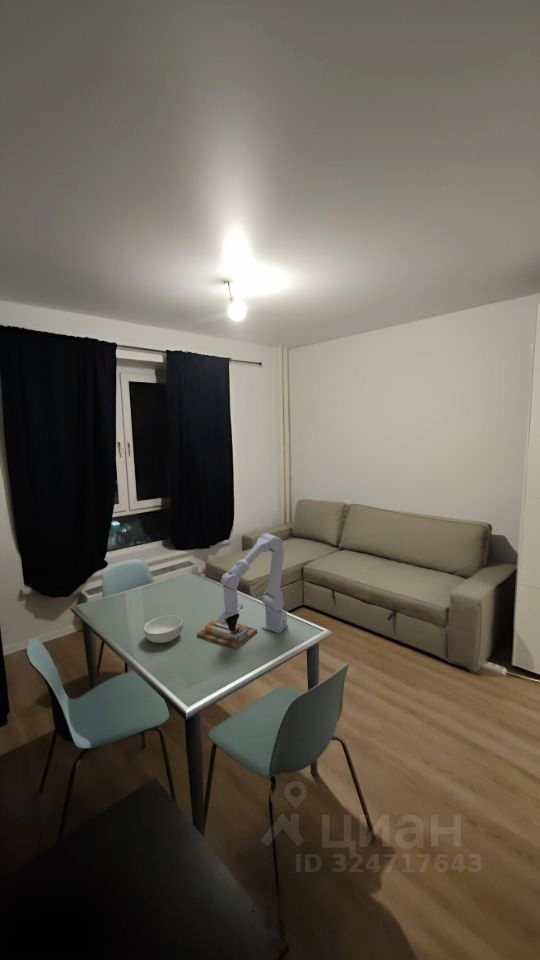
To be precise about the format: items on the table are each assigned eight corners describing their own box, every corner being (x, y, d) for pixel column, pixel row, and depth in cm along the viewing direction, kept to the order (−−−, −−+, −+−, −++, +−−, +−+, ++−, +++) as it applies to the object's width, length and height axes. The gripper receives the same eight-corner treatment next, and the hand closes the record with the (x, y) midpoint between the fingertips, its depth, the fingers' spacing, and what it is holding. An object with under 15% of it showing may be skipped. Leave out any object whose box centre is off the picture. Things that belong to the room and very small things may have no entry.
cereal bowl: (169, 625, 184) (168, 611, 183) (191, 636, 173) (190, 621, 172) (137, 640, 171) (136, 625, 170) (159, 653, 160) (158, 637, 159)
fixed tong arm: (248, 635, 169) (247, 629, 168) (238, 643, 163) (238, 636, 162) (215, 625, 178) (215, 619, 178) (205, 632, 173) (205, 626, 172)
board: (257, 632, 174) (256, 629, 174) (235, 649, 161) (235, 646, 160) (219, 621, 186) (219, 618, 186) (196, 636, 172) (196, 633, 172)
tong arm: (243, 636, 168) (243, 629, 168) (240, 638, 166) (240, 632, 166) (212, 626, 178) (212, 620, 177) (208, 629, 176) (208, 622, 175)
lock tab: (241, 627, 169) (241, 625, 169) (236, 631, 166) (236, 629, 166) (235, 625, 171) (235, 623, 171) (230, 629, 168) (230, 627, 168)
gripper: (233, 592, 173) (234, 621, 174) (212, 605, 161) (214, 636, 162) (246, 595, 169) (247, 624, 171) (225, 609, 157) (227, 640, 159)
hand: (232, 630), depth 166 cm, fingers closed
